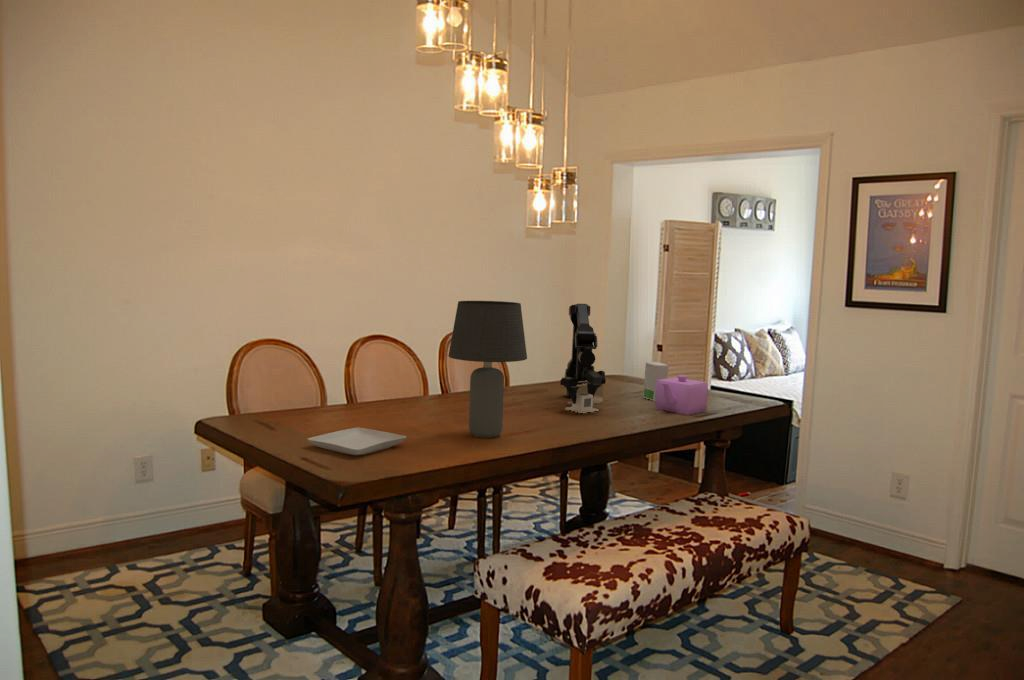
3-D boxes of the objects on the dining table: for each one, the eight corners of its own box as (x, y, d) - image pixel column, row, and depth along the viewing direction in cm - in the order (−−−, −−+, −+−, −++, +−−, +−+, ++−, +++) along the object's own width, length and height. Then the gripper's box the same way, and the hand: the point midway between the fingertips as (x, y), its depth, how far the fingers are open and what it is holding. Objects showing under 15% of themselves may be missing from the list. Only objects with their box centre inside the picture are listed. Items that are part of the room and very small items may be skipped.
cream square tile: (565, 409, 294) (565, 407, 294) (582, 407, 299) (583, 405, 299) (581, 413, 286) (581, 411, 286) (598, 411, 292) (598, 409, 292)
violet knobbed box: (643, 411, 296) (645, 375, 295) (681, 404, 313) (682, 371, 312) (676, 417, 285) (678, 380, 284) (713, 410, 302) (715, 375, 301)
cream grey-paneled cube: (572, 407, 293) (572, 393, 293) (582, 406, 296) (583, 392, 296) (582, 410, 289) (582, 395, 288) (592, 409, 292) (593, 394, 291)
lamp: (430, 434, 244) (433, 300, 240) (485, 423, 263) (488, 299, 259) (485, 448, 228) (490, 305, 223) (540, 436, 246) (545, 304, 242)
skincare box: (642, 398, 325) (644, 362, 324) (655, 397, 328) (657, 361, 326) (654, 401, 318) (656, 364, 316) (667, 400, 320) (669, 364, 319)
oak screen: (567, 404, 304) (568, 384, 303) (596, 401, 314) (597, 382, 313) (575, 406, 300) (576, 386, 299) (605, 403, 310) (606, 384, 309)
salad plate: (304, 448, 222) (305, 437, 222) (357, 436, 240) (357, 425, 239) (357, 461, 210) (357, 449, 210) (408, 447, 228) (408, 436, 228)
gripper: (579, 366, 279) (578, 408, 281) (616, 364, 290) (614, 404, 292) (560, 363, 288) (558, 403, 289) (596, 360, 299) (594, 399, 301)
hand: (582, 402), depth 292 cm, fingers open, 8 cm apart
